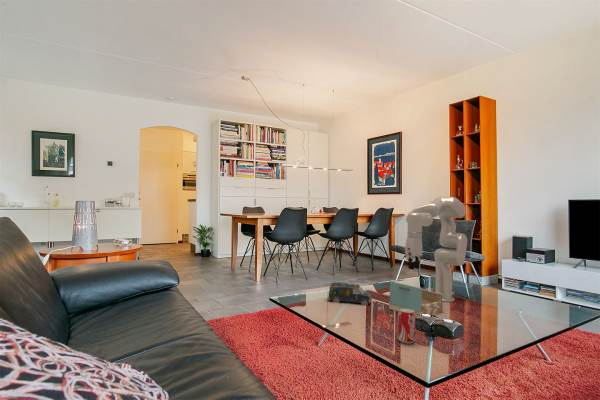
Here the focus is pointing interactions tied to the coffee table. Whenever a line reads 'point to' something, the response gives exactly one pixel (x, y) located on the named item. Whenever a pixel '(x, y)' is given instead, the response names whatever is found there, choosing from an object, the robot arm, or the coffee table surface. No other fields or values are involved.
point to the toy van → (348, 293)
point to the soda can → (406, 325)
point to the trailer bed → (426, 303)
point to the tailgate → (406, 296)
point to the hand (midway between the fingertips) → (413, 268)
